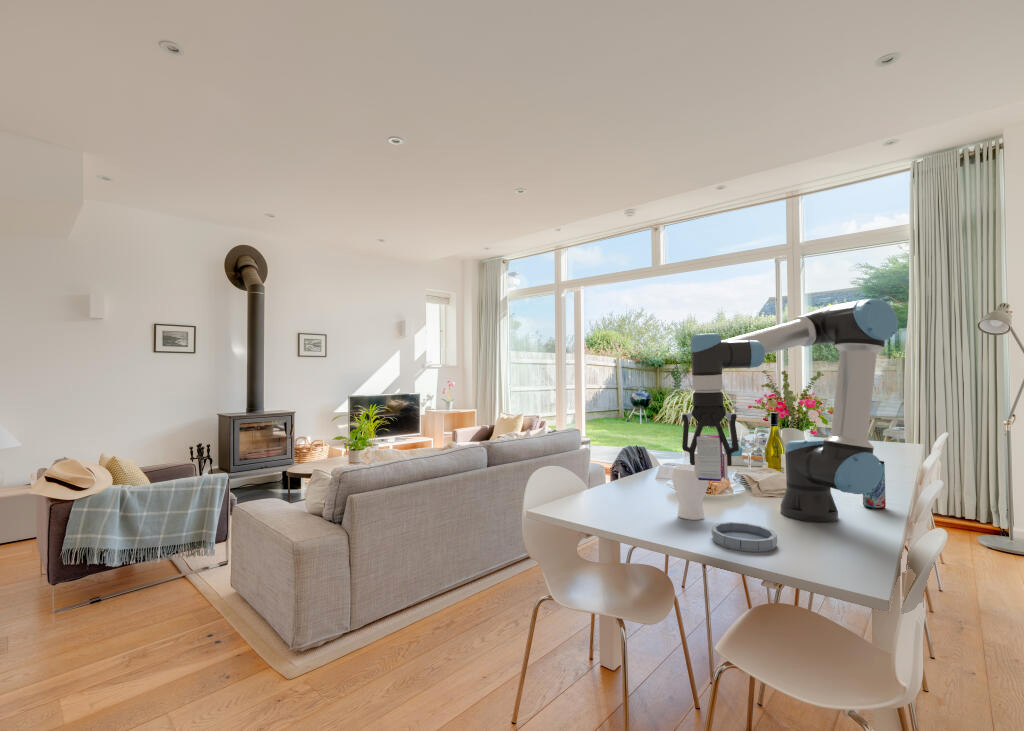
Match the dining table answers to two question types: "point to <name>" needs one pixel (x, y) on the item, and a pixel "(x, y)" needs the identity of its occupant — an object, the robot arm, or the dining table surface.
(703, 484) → the cup
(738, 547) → the dish
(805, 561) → the dining table surface
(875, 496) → the beverage can
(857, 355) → the robot arm
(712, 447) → the supplement box
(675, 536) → the dining table surface
